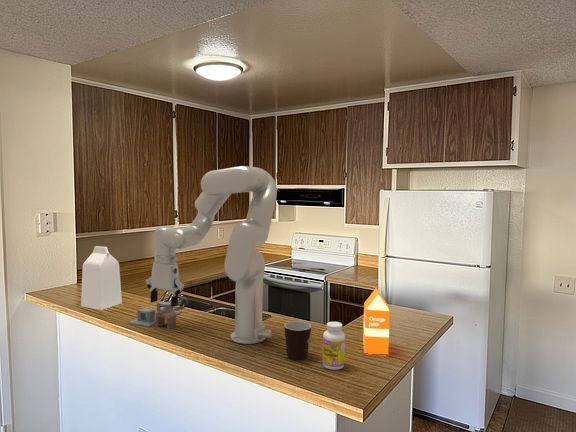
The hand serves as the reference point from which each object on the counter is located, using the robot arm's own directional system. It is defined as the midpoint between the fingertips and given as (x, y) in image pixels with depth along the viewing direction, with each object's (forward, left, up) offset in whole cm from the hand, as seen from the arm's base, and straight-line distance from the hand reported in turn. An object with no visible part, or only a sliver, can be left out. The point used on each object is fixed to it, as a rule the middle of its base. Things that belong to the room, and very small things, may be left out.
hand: (164, 303), depth 155 cm
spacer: (-1, 0, -9) cm, 9 cm away
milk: (+43, -10, -9) cm, 45 cm away
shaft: (+9, -17, -8) cm, 21 cm away
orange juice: (-78, -12, -9) cm, 79 cm away
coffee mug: (-57, +3, -9) cm, 58 cm away
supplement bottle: (-69, +6, -9) cm, 70 cm away
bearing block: (+9, -6, -9) cm, 14 cm away
